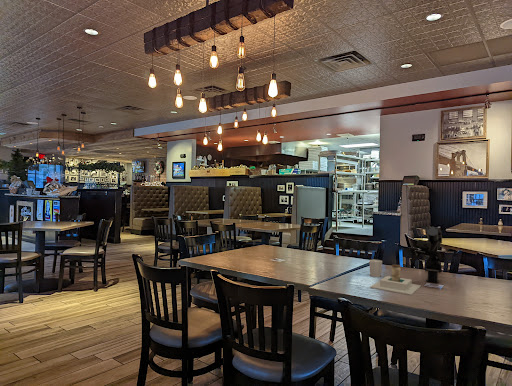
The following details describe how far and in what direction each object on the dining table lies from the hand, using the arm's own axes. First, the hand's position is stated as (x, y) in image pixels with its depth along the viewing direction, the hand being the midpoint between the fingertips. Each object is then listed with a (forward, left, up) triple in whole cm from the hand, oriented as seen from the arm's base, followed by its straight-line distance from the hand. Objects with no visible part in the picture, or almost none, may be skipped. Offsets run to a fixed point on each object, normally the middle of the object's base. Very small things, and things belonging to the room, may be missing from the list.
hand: (418, 264), depth 205 cm
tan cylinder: (+11, -9, -12) cm, 19 cm away
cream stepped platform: (+11, -9, -13) cm, 19 cm away
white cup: (-9, -27, -13) cm, 32 cm away
